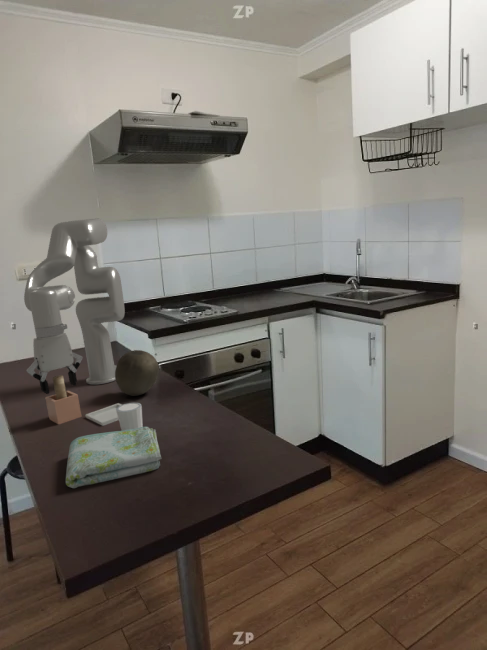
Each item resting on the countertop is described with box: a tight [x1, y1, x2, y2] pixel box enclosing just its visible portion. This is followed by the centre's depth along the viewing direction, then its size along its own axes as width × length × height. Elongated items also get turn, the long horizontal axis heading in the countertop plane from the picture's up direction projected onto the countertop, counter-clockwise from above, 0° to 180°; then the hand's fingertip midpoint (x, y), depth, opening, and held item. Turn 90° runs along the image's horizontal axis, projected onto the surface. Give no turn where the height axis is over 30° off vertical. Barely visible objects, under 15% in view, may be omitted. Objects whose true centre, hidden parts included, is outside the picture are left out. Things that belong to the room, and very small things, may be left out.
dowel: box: [52, 374, 67, 400], centre depth 144 cm, size 3×3×13 cm
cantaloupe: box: [115, 349, 160, 397], centre depth 161 cm, size 14×14×15 cm
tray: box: [85, 402, 123, 427], centre depth 143 cm, size 11×11×2 cm
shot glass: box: [116, 402, 144, 431], centre depth 131 cm, size 7×7×7 cm
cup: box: [44, 390, 83, 425], centre depth 145 cm, size 7×7×8 cm
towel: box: [65, 426, 162, 489], centre depth 114 cm, size 18×21×5 cm
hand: (60, 388), depth 144 cm, fingers open, 7 cm apart
